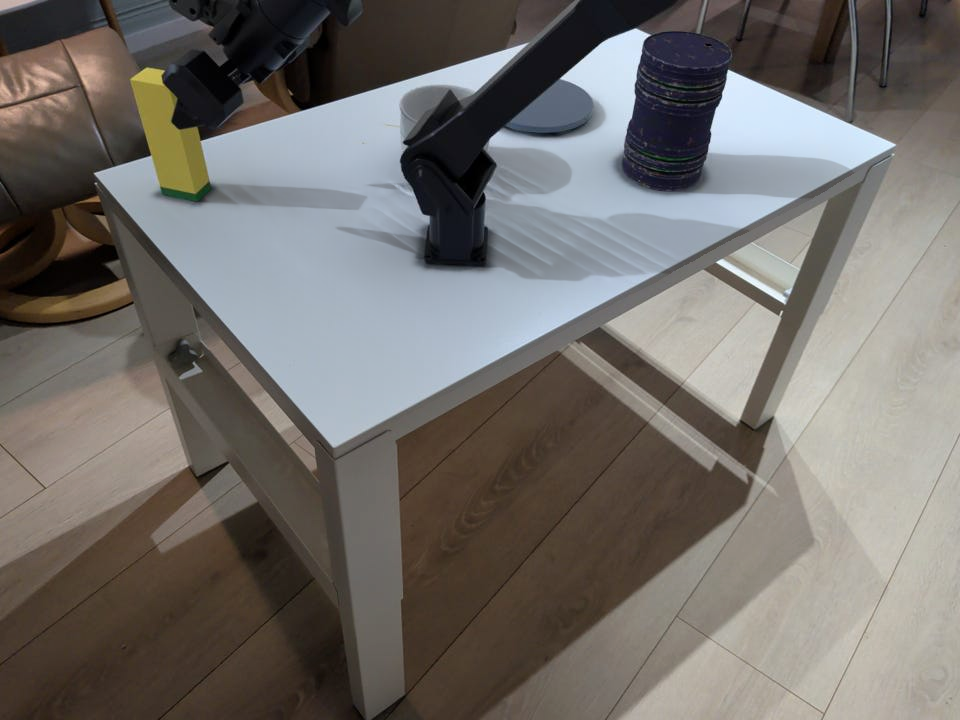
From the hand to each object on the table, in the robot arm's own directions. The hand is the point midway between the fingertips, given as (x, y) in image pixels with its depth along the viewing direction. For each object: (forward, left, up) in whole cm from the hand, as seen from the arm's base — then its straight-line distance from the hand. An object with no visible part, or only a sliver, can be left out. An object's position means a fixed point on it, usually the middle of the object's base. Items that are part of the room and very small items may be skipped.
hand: (200, 104), depth 82 cm
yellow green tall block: (+1, +4, -11) cm, 12 cm away
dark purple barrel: (+11, -51, -11) cm, 53 cm away
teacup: (+8, -24, -11) cm, 28 cm away
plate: (+25, -36, -11) cm, 45 cm away
